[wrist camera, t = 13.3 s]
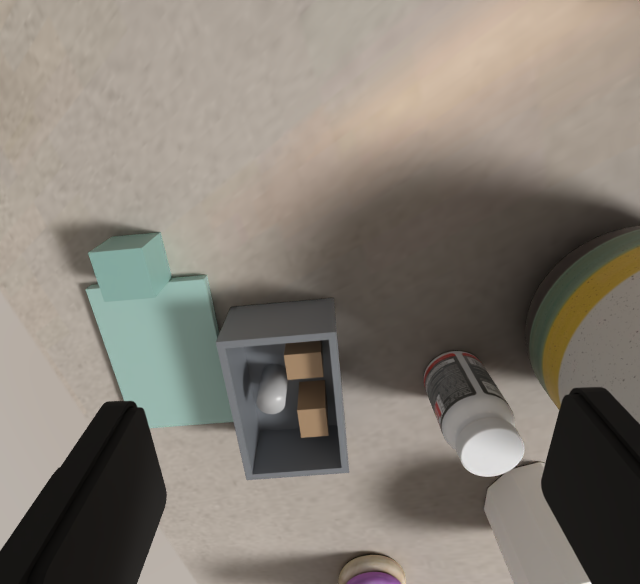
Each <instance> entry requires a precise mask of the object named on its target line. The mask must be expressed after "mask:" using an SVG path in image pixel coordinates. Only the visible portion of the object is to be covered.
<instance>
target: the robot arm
mask: <svg viewBox="0 0 640 584" xmlns="http://www.w3.org/2000/svg"><path fill="white" fill-rule="evenodd" d="M541 489H542V493H543V496H544V498H545V500H546V502H547V503H548V505H549V507H550V509H551V511H552V513H553V514H554V516H555V518H556V520H557V522H558V524H559V525H560V527H561V529H562V531H563V533H564V534H565V536H566V538H567V540H568V542H569V544H570V545H571V547H572V549H573V551H574V553H575V555H576V556H577V558H578V560H579V562H580V564H581V565H582V567H583V569H584V571H585V573H586V575H587V576H588V578H589V580H590V582H591V584H640V424H639V423H638V422H637V421H636V420H635V419H634V417H633V416H632V415H631V414H630V413H629V412H628V411H627V410H626V409H625V408H624V407H623V406H622V405H621V404H620V403H619V402H618V401H617V400H616V399H615V398H614V396H613V395H612V394H611V393H610V392H609V391H608V390H606V389H605V388H603V387H582V388H573V389H572V390H571V391H570V393H569V395H565V396H564V397H563V399H562V403H561V406H560V410H559V414H558V418H557V422H556V425H555V429H554V433H553V437H552V440H551V444H550V448H549V452H548V456H547V459H546V463H545V467H544V471H543V475H542V478H541ZM166 497H167V494H166V488H165V484H164V480H163V477H162V473H161V469H160V465H159V462H158V458H157V454H156V451H155V447H154V443H153V440H152V436H151V432H150V429H149V425H148V421H147V418H146V414H145V411H144V409H143V408H142V407H137V405H136V403H135V402H134V401H111V402H106V403H104V404H103V405H102V407H101V408H100V410H99V411H98V413H97V414H96V415H95V417H94V418H93V420H92V421H91V423H90V424H89V426H88V427H87V429H86V430H85V432H84V433H83V435H82V436H81V438H80V439H79V441H78V442H77V443H76V445H75V446H74V448H73V450H72V451H71V452H70V454H69V455H68V457H67V458H66V460H65V461H64V463H63V464H62V466H61V467H60V468H58V469H57V470H56V472H55V473H54V474H53V475H52V476H51V478H50V479H49V481H48V482H47V484H46V485H45V487H44V488H43V490H42V491H41V493H40V494H39V495H38V497H37V498H36V500H35V501H34V503H33V504H32V506H31V507H30V509H29V510H28V511H27V513H26V514H25V516H24V517H23V519H22V520H21V522H20V523H19V525H18V526H17V528H16V529H15V530H14V532H13V534H12V535H11V536H10V538H9V539H8V541H7V542H6V544H5V545H4V546H3V548H2V549H1V551H0V584H137V582H138V579H139V577H140V574H141V571H142V568H143V566H144V563H145V560H146V557H147V555H148V552H149V549H150V546H151V543H152V541H153V538H154V536H155V532H156V530H157V527H158V525H159V522H160V519H161V516H162V514H163V511H164V508H165V504H166Z"/></svg>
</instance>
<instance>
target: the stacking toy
mask: <svg viewBox="0 0 640 584" xmlns="http://www.w3.org/2000/svg"><path fill="white" fill-rule="evenodd" d="M338 583H339V584H406V578H405V574H404V571H403V569H402V568H401V566H400V565H399V564H398V563H397V562H396V561H394V560H393V559H391V558H388V557H386V556H381V555H366V556H361V557H358V558H355V559H353V560H351V561H350V562H348V563H347V564H346V565H345V566H344V567H343V569H342V571H341V572H340V575H339V580H338Z"/></svg>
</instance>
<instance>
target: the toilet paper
mask: <svg viewBox="0 0 640 584" xmlns="http://www.w3.org/2000/svg"><path fill="white" fill-rule="evenodd" d="M544 467H545V463H542V462H538V463H534V464H530V465H526V466H522V467H518V468H514V469H511V470H510V471H508V472H506V473H505V474H504V475H502V476H501V477H500V478H499V479H498V480H497V481H495V482H494V483H493V484H492V485H491V486H490V487H489V488H488V490H487V495H486V501H485V506H484V511H485V513H486V516H487V518H488V521H489V523H490V526H491V528H492V530H493V533H494V535H495V538H496V540H497V543H498V545H499V548H500V550H501V553H502V555H503V558H504V560H505V562H506V565H507V567H508V570H509V572H510V575H511V577H512V580H513V582H514V584H591V582H590V580H589V578H588V576H587V575H586V573H585V571H584V569H583V567H582V565H581V564H580V562H579V560H578V558H577V556H576V555H575V553H574V551H573V549H572V547H571V545H570V544H569V542H568V540H567V538H566V536H565V534H564V533H563V531H562V529H561V527H560V525H559V524H558V522H557V520H556V518H555V516H554V514H553V513H552V511H551V509H550V507H549V505H548V503H547V502H546V500H545V498H544V496H543V493H542V489H541V478H542V475H543V471H544Z"/></svg>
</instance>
